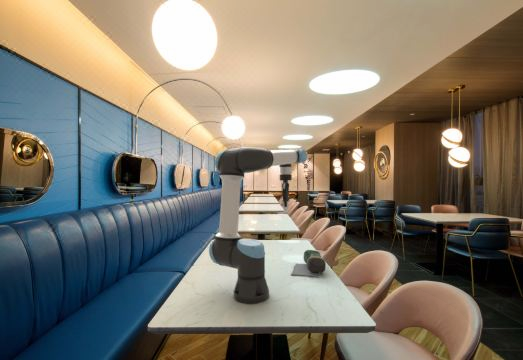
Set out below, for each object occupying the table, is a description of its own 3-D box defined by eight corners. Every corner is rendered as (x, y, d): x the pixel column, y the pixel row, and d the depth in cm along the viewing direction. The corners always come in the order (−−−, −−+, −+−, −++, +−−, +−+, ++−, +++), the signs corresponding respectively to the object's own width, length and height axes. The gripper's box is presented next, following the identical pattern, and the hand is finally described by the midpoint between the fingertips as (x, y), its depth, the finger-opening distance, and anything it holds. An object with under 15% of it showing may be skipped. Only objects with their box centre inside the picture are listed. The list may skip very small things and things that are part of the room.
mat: (318, 277, 134) (318, 276, 134) (291, 275, 138) (291, 274, 138) (320, 266, 152) (320, 265, 152) (295, 264, 155) (295, 263, 155)
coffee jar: (302, 262, 156) (307, 273, 137) (304, 248, 156) (308, 258, 137) (319, 264, 155) (326, 275, 137) (320, 250, 155) (327, 260, 137)
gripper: (289, 173, 159) (290, 213, 159) (293, 174, 171) (293, 210, 171) (277, 174, 160) (277, 213, 160) (281, 174, 173) (281, 210, 173)
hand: (285, 211), depth 166 cm, fingers closed
